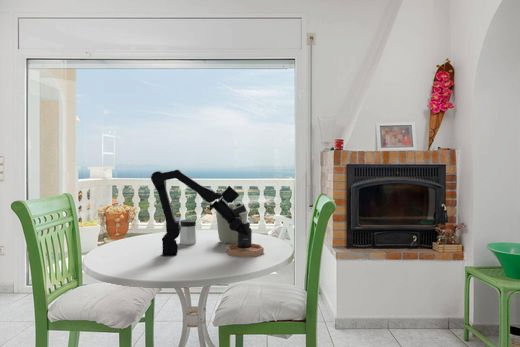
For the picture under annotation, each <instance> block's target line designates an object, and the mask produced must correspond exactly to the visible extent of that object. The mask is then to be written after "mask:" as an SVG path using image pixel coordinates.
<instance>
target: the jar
mask: <svg viewBox="0 0 520 347" xmlns="http://www.w3.org/2000/svg"><path fill="white" fill-rule="evenodd" d="M179 222H180V226H181V230H180V234H179V245H185V246H188V245H189V246H190V245H196V242H197V221H196V220H195V219H182V220H179Z"/></svg>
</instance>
